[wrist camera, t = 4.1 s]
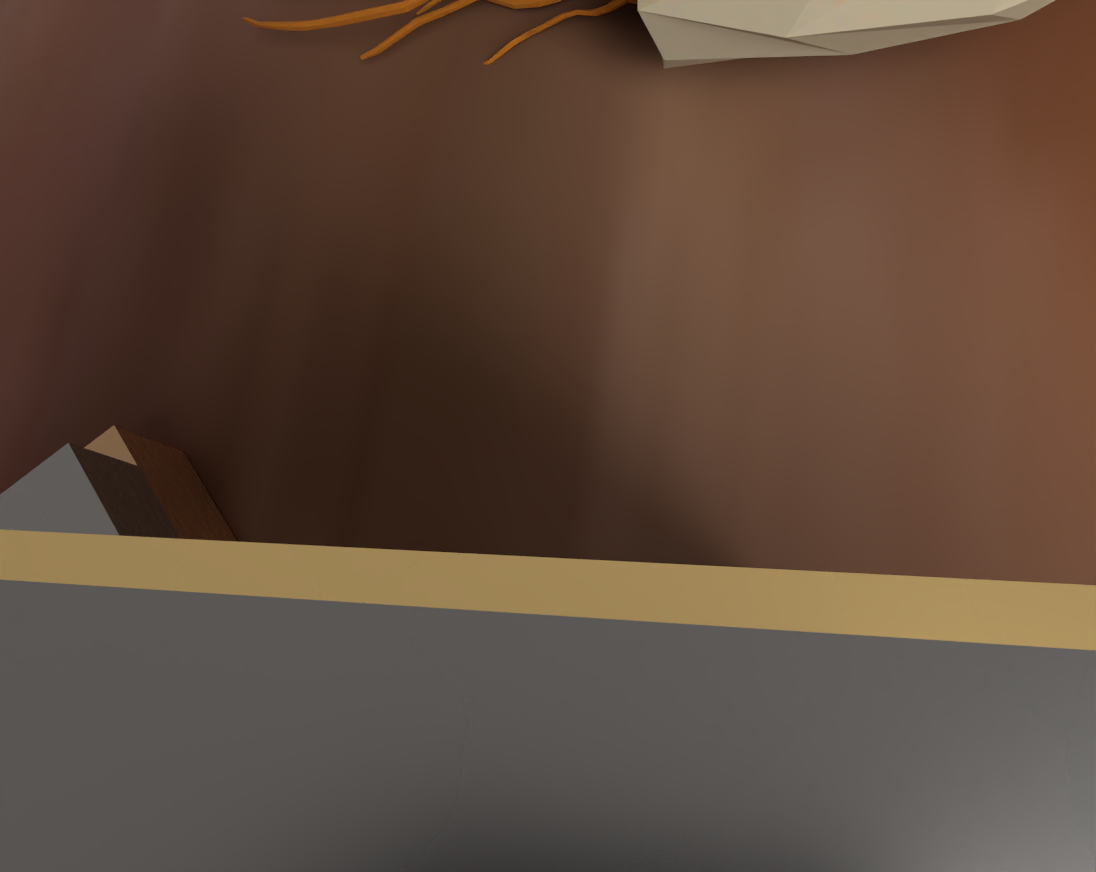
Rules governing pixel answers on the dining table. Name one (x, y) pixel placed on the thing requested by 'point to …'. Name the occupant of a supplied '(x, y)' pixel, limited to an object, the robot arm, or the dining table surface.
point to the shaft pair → (115, 492)
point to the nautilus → (739, 24)
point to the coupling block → (531, 714)
